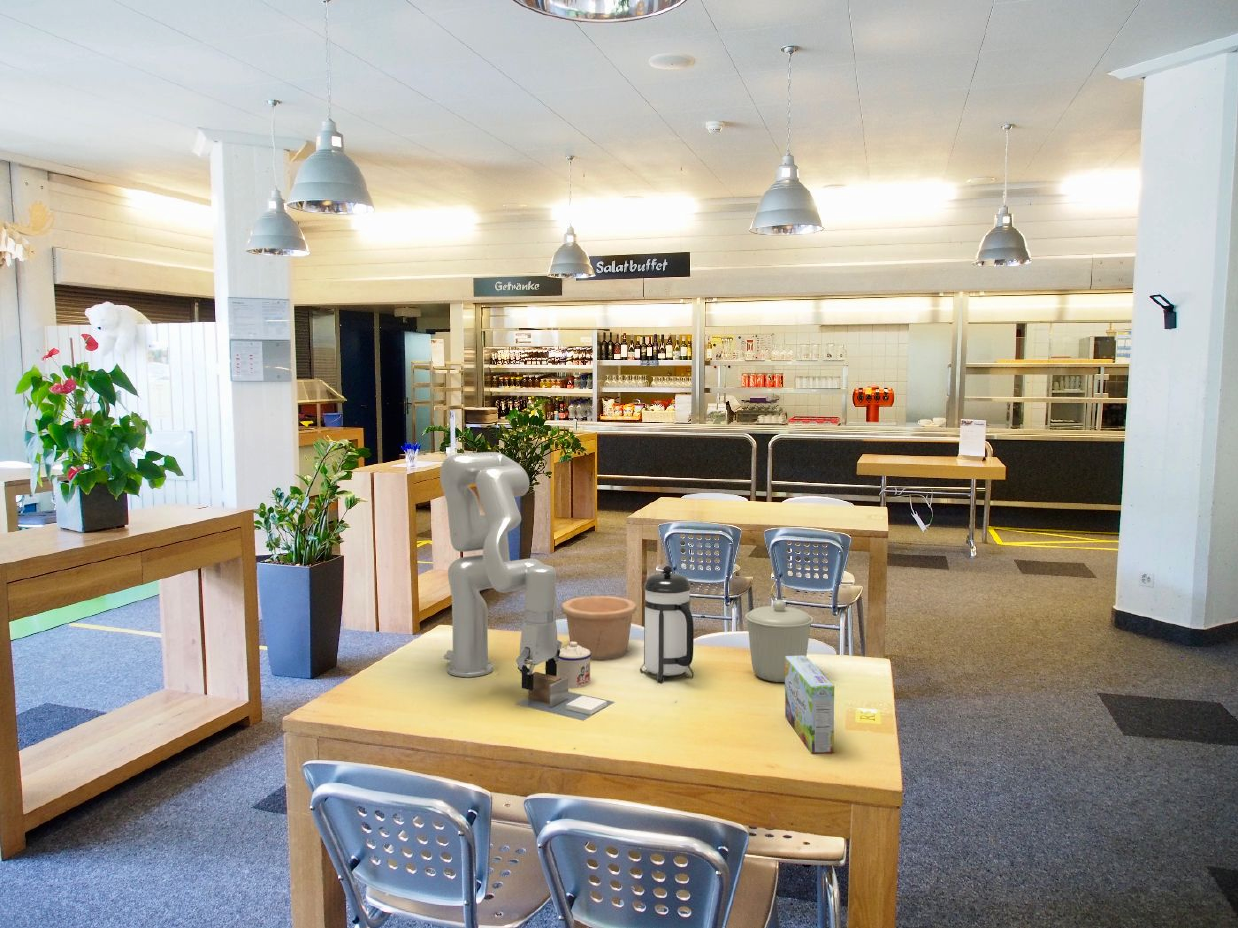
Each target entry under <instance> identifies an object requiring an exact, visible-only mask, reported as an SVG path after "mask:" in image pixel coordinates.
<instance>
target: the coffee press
mask: <svg viewBox="0 0 1238 928" xmlns="http://www.w3.org/2000/svg"><path fill="white" fill-rule="evenodd" d="M662 571H663V572H662V573H656V574H652V575H650V576H648V578H647V579H646V581H645V582H644V584H643V590H644V598H643V600H644V601H643V602H644V603H643V606H644V607H643V608H644V613H643V615H644V617H643V618H644V619H643V622H644V624H643V625H644V626H643V627H644V628H643V632H644V633H643V634H644V635H643V641H644V642H643V663H642V665H641V667H640V669H639V672H640V673H641V674H645V673H646V672H647V671H648V672H650V673H651V674H654V675H657V677H656V681H657V683H661V684H663V683H664V680H665V676H676V675H677V676H678V675H681V674H684V675H685V676H686V677H687V678H689V679H692V678H693V677H694V675H695V673H694V671H693V670H692V668H691V664H692V662H693V659H694V639H695V638H694V636H695V633H694V632H695V631H694V630H695V629H694V619H693V614H692V611H691V598H690V595H691V589H692V585H691V583H690V582H689V581H690V580H688V578H687V577H686V576H683V575H681V574H677V573H672V571H673V569H672V568H671V566H670V565H665V566H664V567H663V570H662ZM643 666H644V667H645V669H646V670H643V669H642V668H643ZM688 670H689V672H690V673H691V675H690V674H689V673H688V672H687V671H688Z"/></svg>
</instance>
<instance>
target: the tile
mask: <svg viewBox="0 0 1238 928" xmlns="http://www.w3.org/2000/svg"><path fill="white" fill-rule="evenodd" d="M587 696H588V695H586V696H581V697H579V698H577V699H575V700H573V701H571V702H570V703H568V704H566V709H567V710H572V711H576V712H580V713H584V714H589V715H592V714H593V713H595V712H597V711H598V710H600V709H602V708H604V707H605V706H607V701H605V700H606V699H604V700H600V699H601V698H600V699H596V698H597V697H595V698H591V697H592V696H591V697H587ZM604 709H605V708H604ZM602 710H603V709H602ZM597 713H598V712H597ZM592 716H593V715H592Z"/></svg>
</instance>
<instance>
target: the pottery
mask: <svg viewBox="0 0 1238 928" xmlns="http://www.w3.org/2000/svg"><path fill="white" fill-rule="evenodd" d="M637 607H638V606H637V604H636V602H634V601H633V600H631V599H628V598H624V597H619V596H612V595H590V596H588V595H587V596H580V597H575V598H574V597H573V598H571V599H568V600H566V601H564V602H563V603H562V604H561V610H562V613H563V614H565V615H566V623H567V630H568V637H569V643H570V642H577V645H579V646H581V647H583V648H586V649H588V650H589V651H590V653H591V656H590V661H609V660H616V659H619V658H622V657H624V656H626V654H627V653H628V650H629V649H628V648H629V641H630V633H631V628H632V627H631V626H632V621H633V615H634V614H635V613H636V611H637Z"/></svg>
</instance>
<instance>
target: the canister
mask: <svg viewBox="0 0 1238 928" xmlns="http://www.w3.org/2000/svg"><path fill="white" fill-rule="evenodd" d="M744 616H745V617H744V618H745V619H746V621H747V628H748V640H749V651H750V658H751V666H752V670H753V672H754V674H755V675H756V677H758V678H760V679H761V680H764V681H768V682H775V683H785V656H806V657H807V655H808V649H809V647H808V646H809V640H810V633H811V624H813V622H814V617H813V616H812V615H811V614H809V613H807V612H806V611H805V610H803V609H799V608H795V607H791V606H790V607H789V606H787V603H786V601H785V600H783V599H775V600H774V601H773V602H772V605H768V606H767V605H765V606H759V607H756V608H754V609H752V610H750V611H748V612H747V613H746V614H745V615H744Z"/></svg>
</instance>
